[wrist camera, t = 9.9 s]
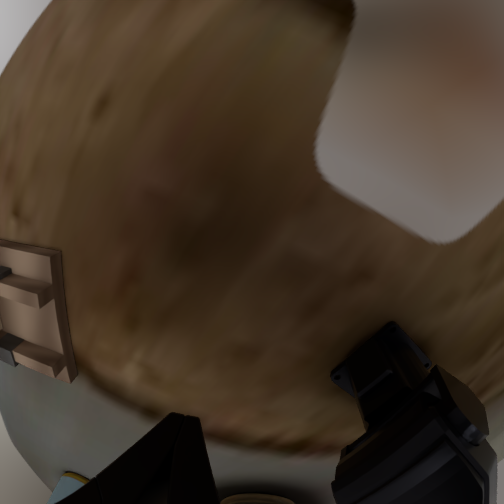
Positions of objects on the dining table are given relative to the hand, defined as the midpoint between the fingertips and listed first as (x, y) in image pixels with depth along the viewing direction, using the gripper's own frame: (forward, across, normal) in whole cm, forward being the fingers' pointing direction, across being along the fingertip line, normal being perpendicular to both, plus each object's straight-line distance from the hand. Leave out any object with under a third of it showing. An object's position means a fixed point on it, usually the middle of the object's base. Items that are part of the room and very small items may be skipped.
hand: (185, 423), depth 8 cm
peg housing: (+13, +20, +6) cm, 25 cm away
